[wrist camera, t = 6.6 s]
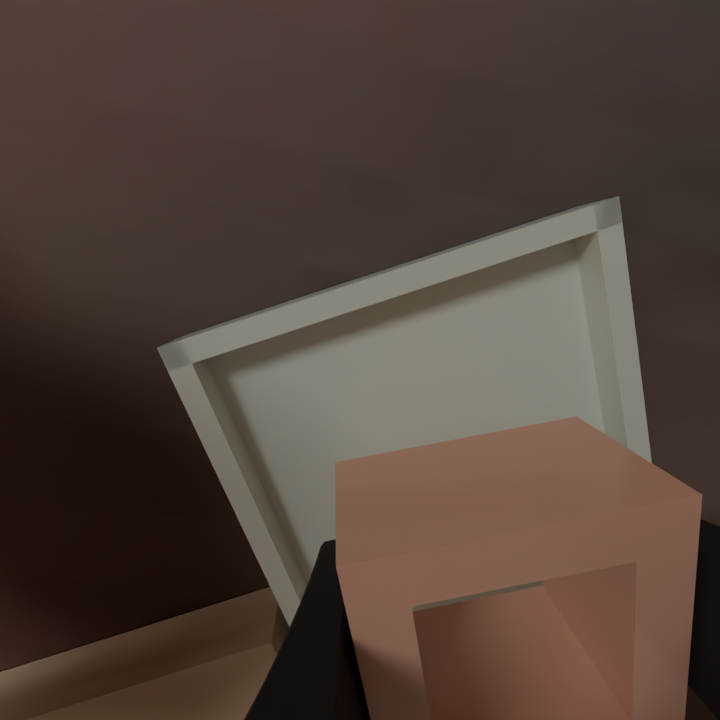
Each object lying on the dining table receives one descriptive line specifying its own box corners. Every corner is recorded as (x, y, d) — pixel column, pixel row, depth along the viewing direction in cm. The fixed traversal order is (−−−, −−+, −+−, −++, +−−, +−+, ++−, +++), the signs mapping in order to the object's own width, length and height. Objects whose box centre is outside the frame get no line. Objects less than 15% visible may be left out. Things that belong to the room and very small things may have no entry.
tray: (182, 336, 10) (156, 347, 9) (577, 206, 10) (619, 196, 8) (336, 677, 13) (337, 727, 12) (634, 584, 13) (671, 623, 12)
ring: (374, 649, 10) (391, 811, 7) (334, 462, 8) (336, 567, 5) (580, 608, 10) (682, 749, 7) (576, 416, 8) (702, 494, 6)
